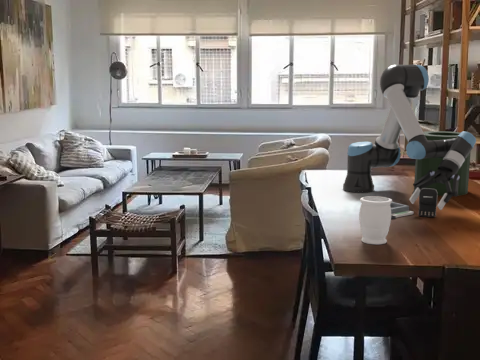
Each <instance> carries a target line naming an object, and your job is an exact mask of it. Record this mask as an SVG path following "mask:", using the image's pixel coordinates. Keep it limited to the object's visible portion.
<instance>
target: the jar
mask: <svg viewBox="0 0 480 360" xmlns="http://www.w3.org/2000/svg"><path fill="white" fill-rule="evenodd" d="M359 202H360V207H359V213H358V215H359V217H358V218H359V226H360V227H359V228H360V232H361V235H362V237H361V242H363V243H364V244H367V245H374V246H375V245H377V246H378V245H385V244H386V243H387V242H388V241H387V236H388V234H389V230H390V226H391V222H392V219H391V207H390V204H391V203H392V202H393V199H392V198H389V197H387V196H378V195H376V196H374V195H373V196H372V195H371V196H370V195H369V196H363V197H360V199H359Z"/></svg>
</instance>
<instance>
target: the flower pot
mask: <svg viewBox="0 0 480 360" xmlns="http://www.w3.org/2000/svg"><path fill="white" fill-rule="evenodd" d="M423 133H424V135H425V137H426V139H427V140H446V139H453V138H457V137H458V135H459V134H460V133H461V132H459V131H441V130H440V131H439V130H438V131H436V130H435V131H430V130H429V131H423ZM471 152H472V151H471ZM471 152H470V153H469V155H468V156H467V158H466V159H465V161H464V162H463V164H462V165H461V167H460V168H459V170H458V172H457V174H458V175H459V177H460V180H459V183H458V196H459V197H461V196H465V195H467V194H468V193H469V179H470V165H471ZM442 160H443V158H424V159H415V162H414V163H415V166H414V182H413V184H414V183H415V182H416V181H418V180H419V179H420V178H421V177H423V176H424V175H425V174H427V173H428V171H429V170H432V171H434V172H436V171H437V170H438V166H439V165H440V163H441V161H442ZM433 179H434V180H435V178H433ZM450 186H451V190H452V189H453V179H452V180H450ZM426 188H430V189H436V190H437V197H438V196H440V197H441V196H442V197H443V195H444V194H445V193H447V189H446V185H445V183H444V184H442V183H435V184H434V183H433V184H431V185H430V186H428V187H426ZM414 189H415V187H414V186H413V190H414ZM447 194H448V193H447ZM458 196H457V197H458Z"/></svg>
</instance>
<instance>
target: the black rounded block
mask: <svg viewBox="0 0 480 360" xmlns="http://www.w3.org/2000/svg"><path fill="white" fill-rule="evenodd" d="M437 205H438V196H437V190H436V189H430V188H422V189H421V190H420V193H419V196H418V216H419V217H422V218H424V217H425V218H436V217H437V208H438V207H437Z"/></svg>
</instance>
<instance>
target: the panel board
mask: <svg viewBox="0 0 480 360" xmlns="http://www.w3.org/2000/svg"><path fill="white" fill-rule="evenodd" d="M390 207H391V215H392V216H396V218H400V217H407V216H410V215H411V216H412V215H414V211H412V210H410V206H409V205H407V204H402V203H398V202H394V201H392V203H391V204H390Z"/></svg>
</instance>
